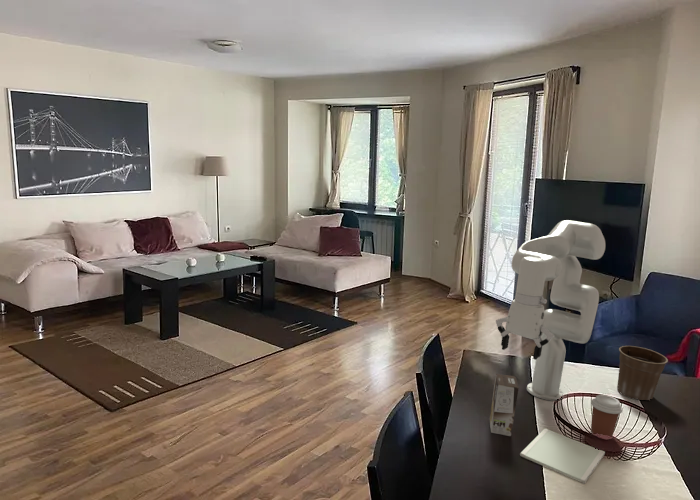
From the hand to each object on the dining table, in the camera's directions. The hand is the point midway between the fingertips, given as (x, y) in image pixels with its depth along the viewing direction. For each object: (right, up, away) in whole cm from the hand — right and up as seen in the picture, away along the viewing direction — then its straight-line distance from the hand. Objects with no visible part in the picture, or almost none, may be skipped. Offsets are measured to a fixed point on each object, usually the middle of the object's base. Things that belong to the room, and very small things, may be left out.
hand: (520, 353), depth 165 cm
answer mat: (+11, -29, -5) cm, 31 cm away
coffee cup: (+29, -28, +9) cm, 41 cm away
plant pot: (+57, -24, +42) cm, 74 cm away
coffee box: (-4, -25, +8) cm, 27 cm away
